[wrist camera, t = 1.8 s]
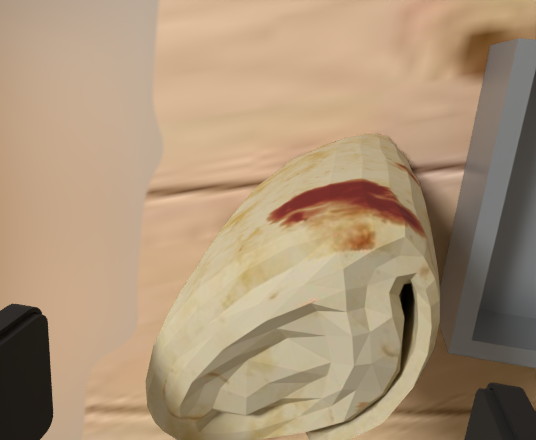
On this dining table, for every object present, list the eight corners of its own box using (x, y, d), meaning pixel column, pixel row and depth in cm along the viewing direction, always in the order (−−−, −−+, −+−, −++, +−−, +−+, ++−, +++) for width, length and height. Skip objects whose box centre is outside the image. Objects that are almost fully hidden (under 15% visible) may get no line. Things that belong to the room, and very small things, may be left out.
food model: (363, 95, 28) (361, 133, 9) (431, 185, 29) (559, 391, 10) (238, 194, 31) (47, 374, 12) (302, 273, 32) (215, 558, 13)
